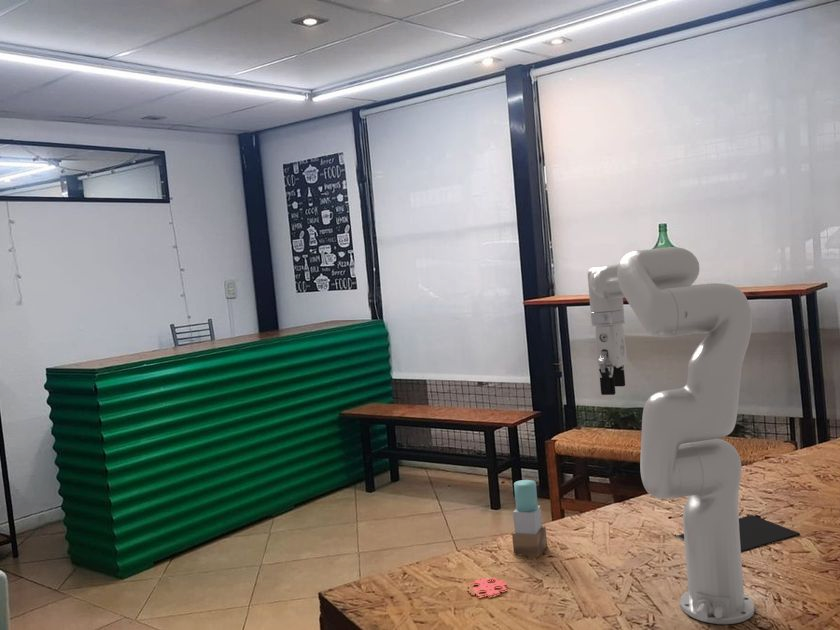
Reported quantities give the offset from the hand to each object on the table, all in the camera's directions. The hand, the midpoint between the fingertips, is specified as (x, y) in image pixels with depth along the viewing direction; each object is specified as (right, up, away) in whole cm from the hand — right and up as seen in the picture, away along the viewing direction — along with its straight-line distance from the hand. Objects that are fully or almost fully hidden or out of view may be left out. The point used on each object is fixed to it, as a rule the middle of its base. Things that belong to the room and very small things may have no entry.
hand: (613, 390), depth 170 cm
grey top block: (-20, -32, -3) cm, 38 cm away
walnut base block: (-20, -37, -3) cm, 42 cm away
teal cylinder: (-21, -27, -3) cm, 34 cm away
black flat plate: (+26, -33, -6) cm, 43 cm away
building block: (-32, -40, -20) cm, 55 cm away
